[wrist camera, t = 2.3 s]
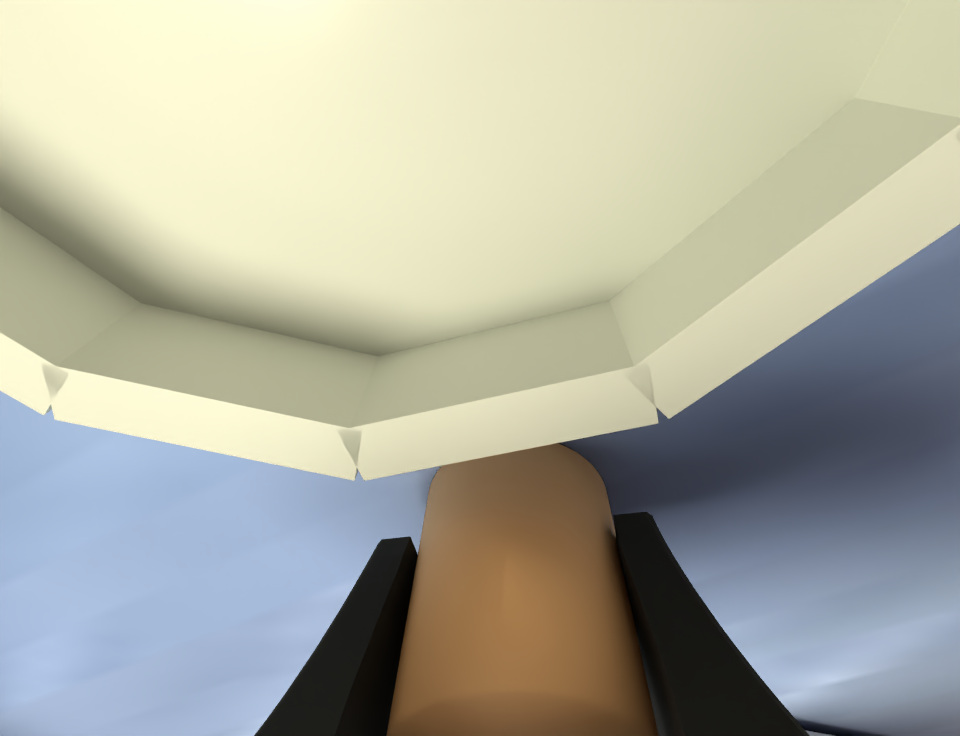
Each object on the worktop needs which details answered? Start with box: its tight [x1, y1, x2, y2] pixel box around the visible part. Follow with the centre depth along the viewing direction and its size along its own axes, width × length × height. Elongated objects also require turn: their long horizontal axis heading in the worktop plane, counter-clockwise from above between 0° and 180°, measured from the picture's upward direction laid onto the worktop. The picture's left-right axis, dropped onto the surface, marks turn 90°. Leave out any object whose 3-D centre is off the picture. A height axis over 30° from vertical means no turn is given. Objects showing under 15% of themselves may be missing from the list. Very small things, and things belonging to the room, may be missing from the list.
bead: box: [386, 443, 659, 736], centre depth 10 cm, size 4×4×5 cm
